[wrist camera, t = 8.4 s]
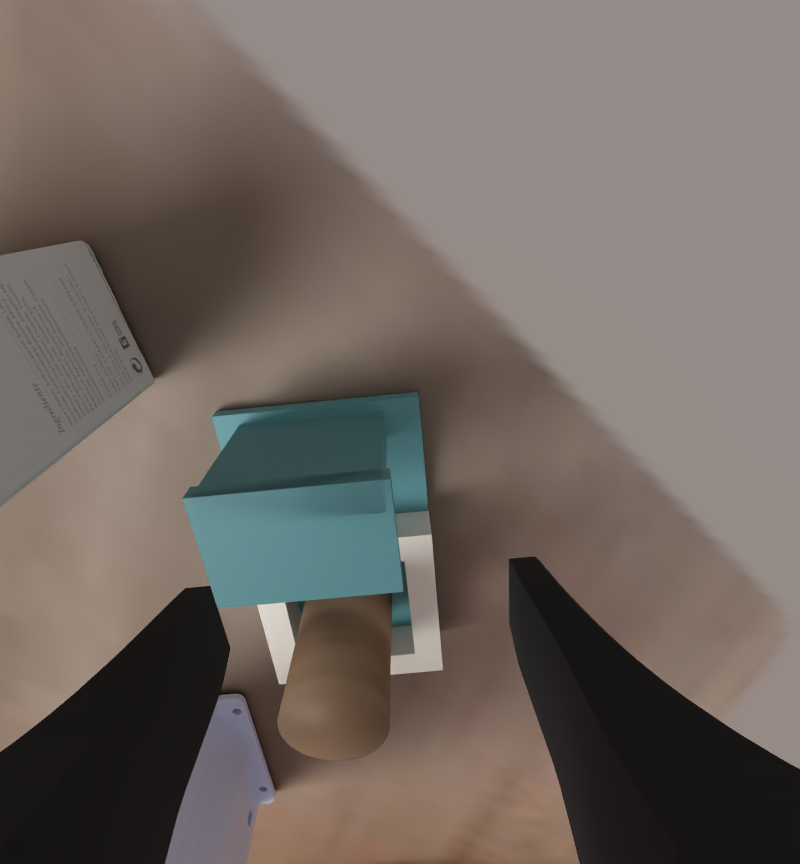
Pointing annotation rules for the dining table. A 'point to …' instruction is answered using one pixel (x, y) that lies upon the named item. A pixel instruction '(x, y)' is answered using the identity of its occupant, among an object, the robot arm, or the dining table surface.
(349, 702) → the peg
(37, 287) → the skincare box
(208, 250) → the dining table surface
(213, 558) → the station
